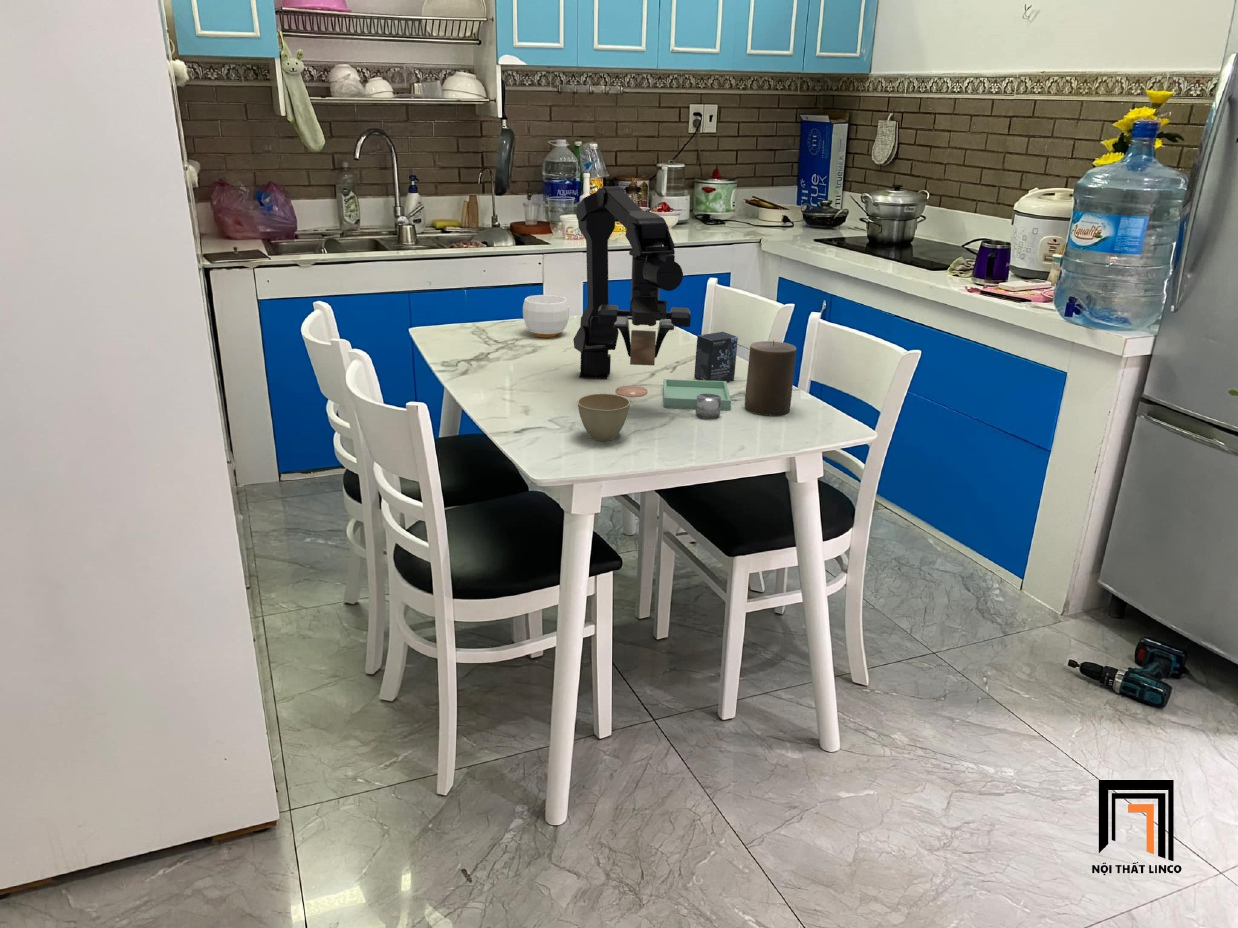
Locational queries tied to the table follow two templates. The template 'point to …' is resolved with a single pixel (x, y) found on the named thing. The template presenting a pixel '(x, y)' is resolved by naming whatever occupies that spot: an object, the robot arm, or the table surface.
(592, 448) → the table surface
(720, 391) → the tray
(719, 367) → the box
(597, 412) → the flower pot
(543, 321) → the cup
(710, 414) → the grey tin
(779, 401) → the pillar candle
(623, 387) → the pink dome
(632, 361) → the walnut block
